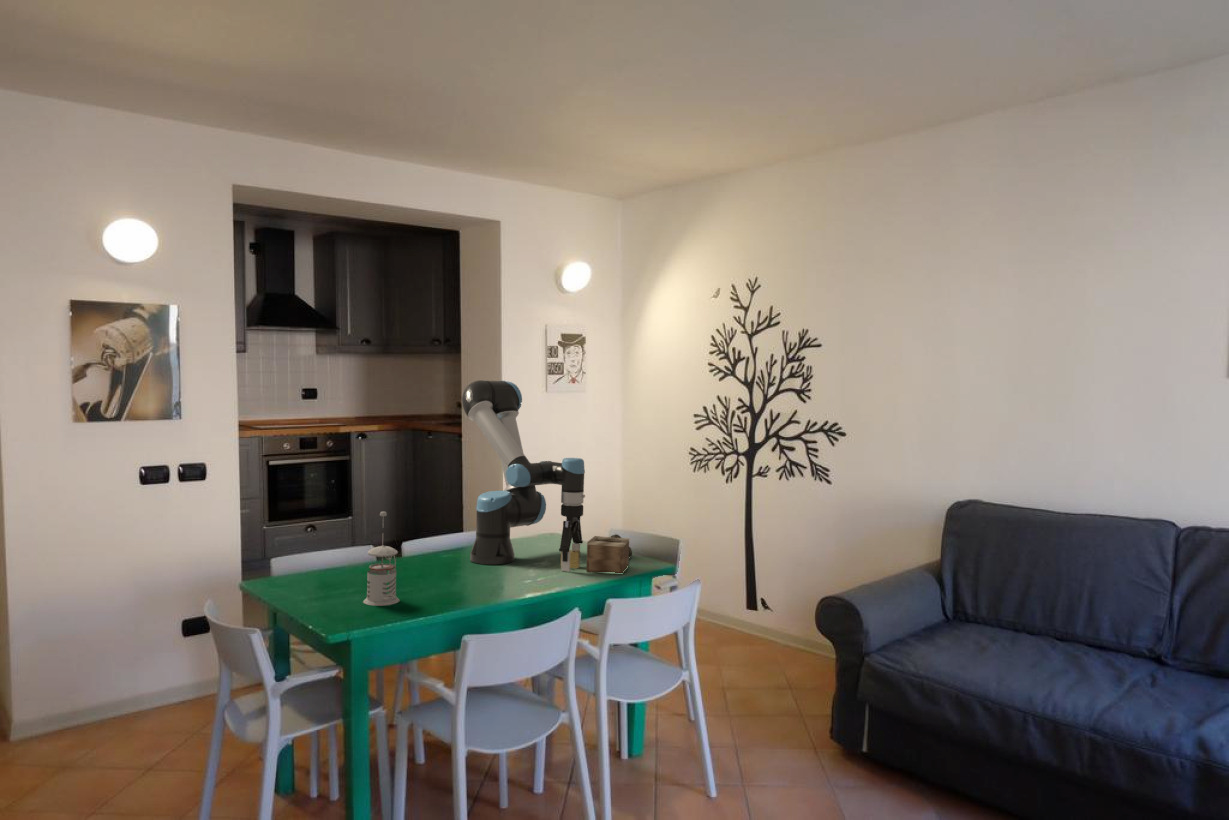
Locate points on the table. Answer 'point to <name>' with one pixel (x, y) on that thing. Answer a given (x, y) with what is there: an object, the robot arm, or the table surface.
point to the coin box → (607, 554)
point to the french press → (381, 577)
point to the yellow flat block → (574, 558)
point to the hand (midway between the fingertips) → (570, 566)
